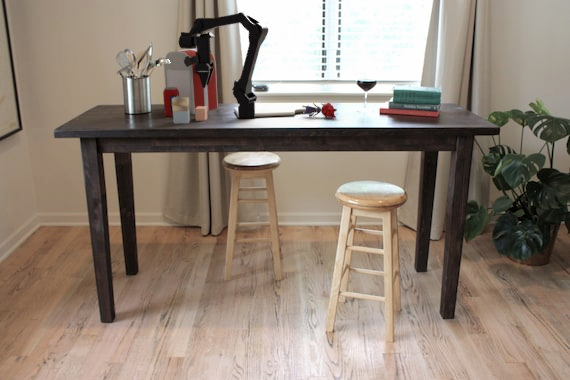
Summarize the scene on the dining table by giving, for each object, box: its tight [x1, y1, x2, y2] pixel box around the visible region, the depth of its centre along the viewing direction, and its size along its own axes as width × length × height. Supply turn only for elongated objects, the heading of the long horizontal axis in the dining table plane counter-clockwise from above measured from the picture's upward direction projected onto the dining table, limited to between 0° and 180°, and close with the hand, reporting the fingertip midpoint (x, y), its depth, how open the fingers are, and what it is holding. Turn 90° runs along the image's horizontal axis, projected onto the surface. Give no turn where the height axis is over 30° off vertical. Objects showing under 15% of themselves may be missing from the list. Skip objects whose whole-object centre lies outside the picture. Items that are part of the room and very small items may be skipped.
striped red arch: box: [163, 47, 219, 115], centre depth 277 cm, size 16×18×27 cm
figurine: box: [302, 102, 338, 119], centre depth 255 cm, size 6×8×15 cm
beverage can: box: [162, 87, 179, 118], centre depth 264 cm, size 7×7×12 cm
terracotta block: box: [194, 106, 208, 122], centre depth 256 cm, size 6×4×5 cm, turn 178°
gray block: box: [172, 110, 191, 124], centre depth 249 cm, size 6×4×5 cm, turn 88°
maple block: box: [172, 97, 189, 111], centre depth 248 cm, size 6×4×5 cm, turn 89°
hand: (205, 86), depth 262 cm, fingers open, 9 cm apart
